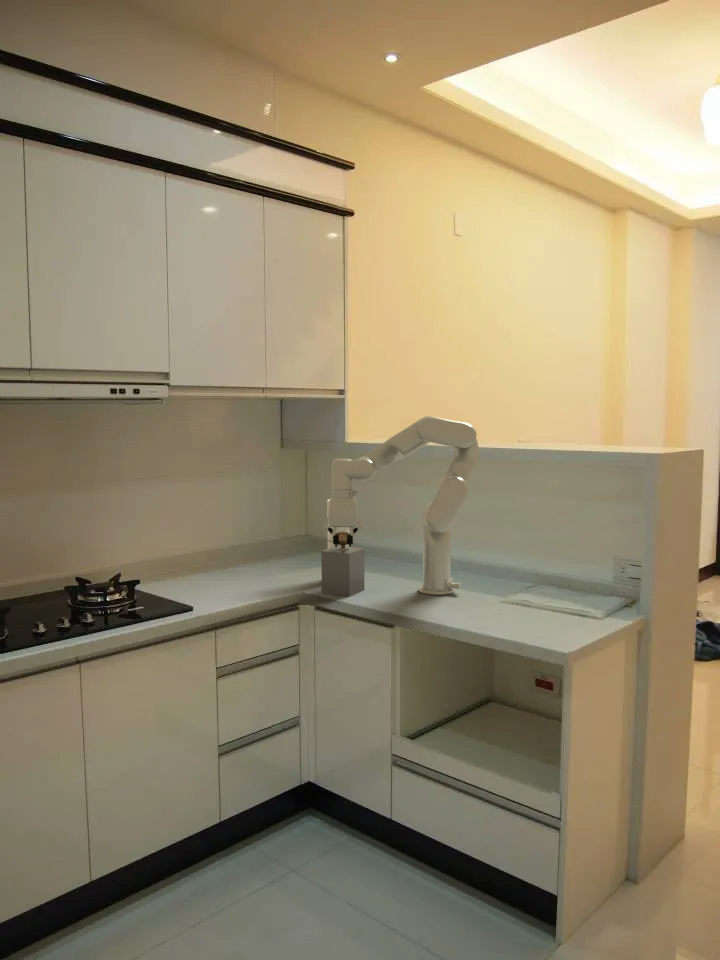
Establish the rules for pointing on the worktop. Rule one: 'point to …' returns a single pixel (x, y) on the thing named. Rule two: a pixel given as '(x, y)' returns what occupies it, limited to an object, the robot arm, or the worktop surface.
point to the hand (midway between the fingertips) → (343, 545)
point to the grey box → (342, 571)
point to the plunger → (342, 539)
